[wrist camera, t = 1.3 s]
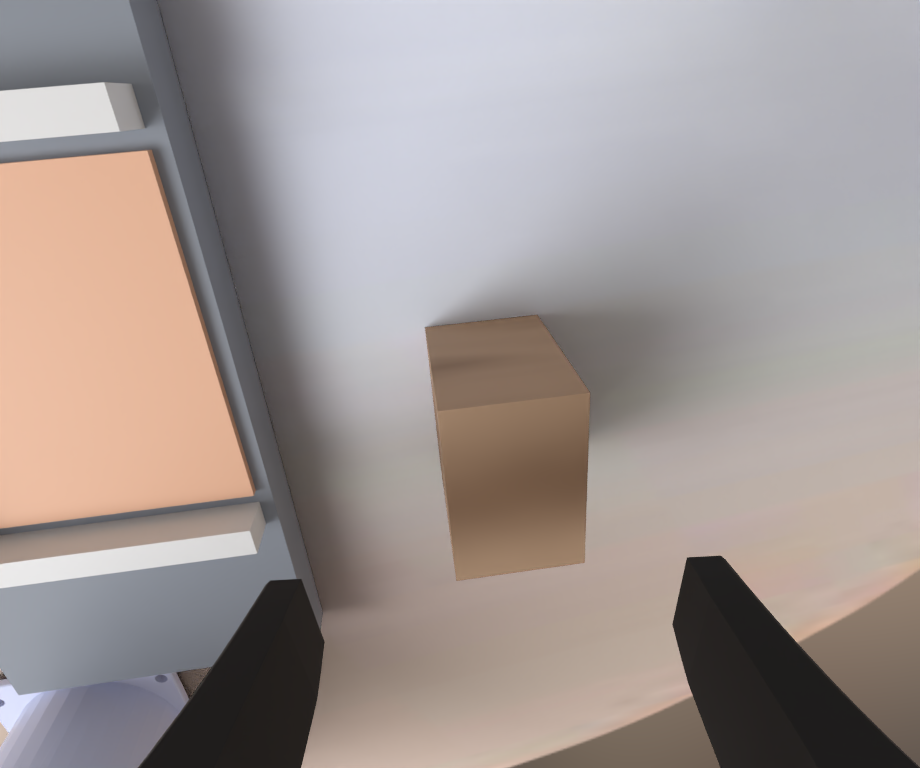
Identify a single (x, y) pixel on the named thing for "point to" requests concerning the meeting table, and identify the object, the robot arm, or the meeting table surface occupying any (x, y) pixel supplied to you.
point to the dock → (121, 368)
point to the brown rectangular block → (510, 445)
